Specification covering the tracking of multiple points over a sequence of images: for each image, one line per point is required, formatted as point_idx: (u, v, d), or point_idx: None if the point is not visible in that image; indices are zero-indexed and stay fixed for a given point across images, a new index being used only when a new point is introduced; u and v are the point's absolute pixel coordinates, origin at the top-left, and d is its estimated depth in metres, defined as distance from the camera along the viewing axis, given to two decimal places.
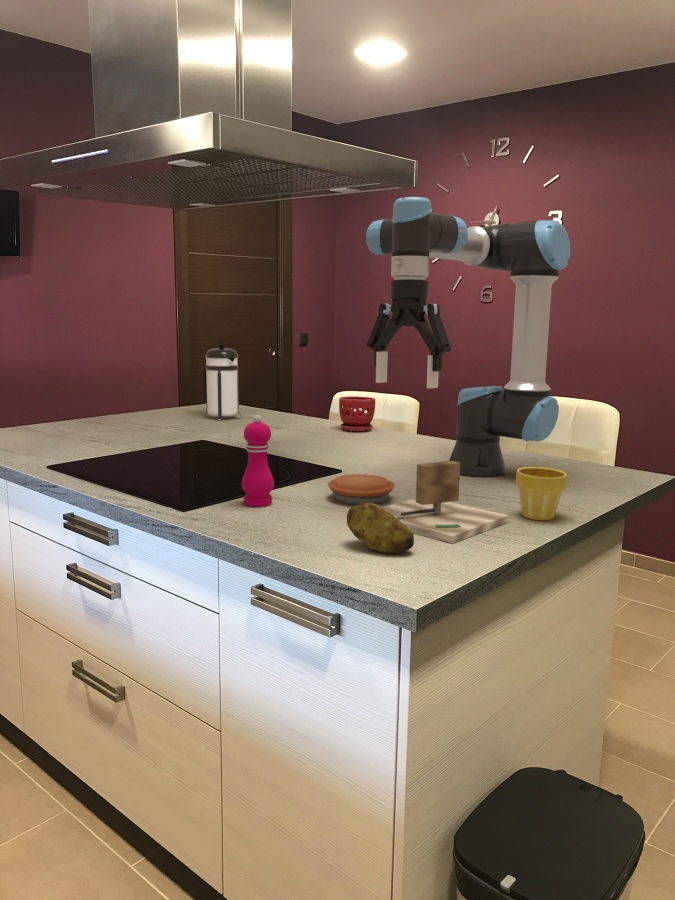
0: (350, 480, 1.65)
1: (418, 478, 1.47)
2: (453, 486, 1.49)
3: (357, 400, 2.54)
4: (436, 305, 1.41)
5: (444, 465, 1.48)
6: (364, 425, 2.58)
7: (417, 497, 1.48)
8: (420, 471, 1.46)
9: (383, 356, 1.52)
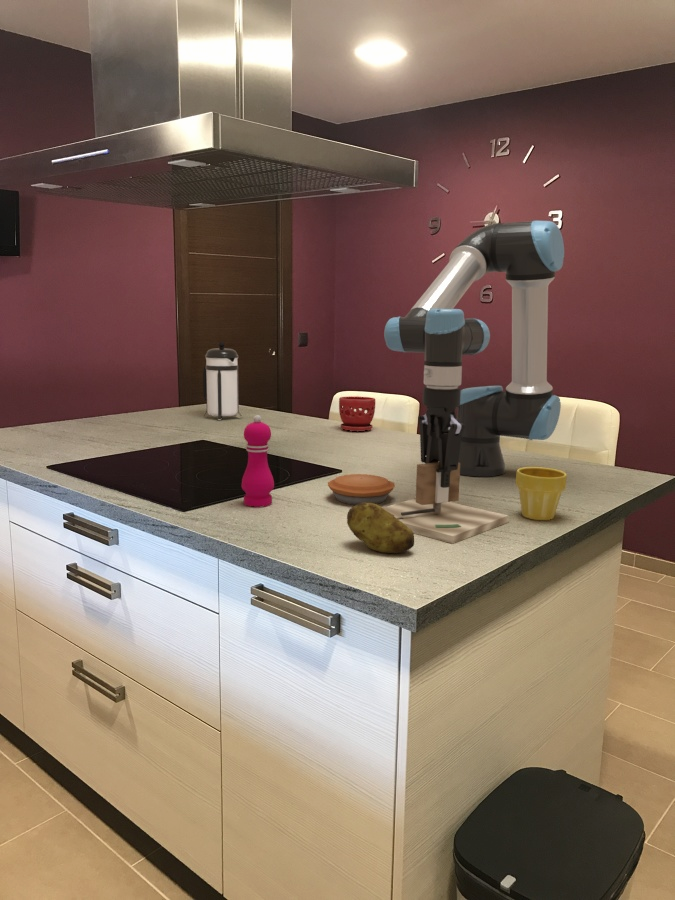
0: (350, 480, 1.65)
1: (418, 478, 1.47)
2: (453, 486, 1.49)
3: (357, 400, 2.54)
4: (460, 427, 1.41)
5: (444, 465, 1.48)
6: (364, 425, 2.58)
7: (417, 497, 1.48)
8: (420, 471, 1.46)
9: None
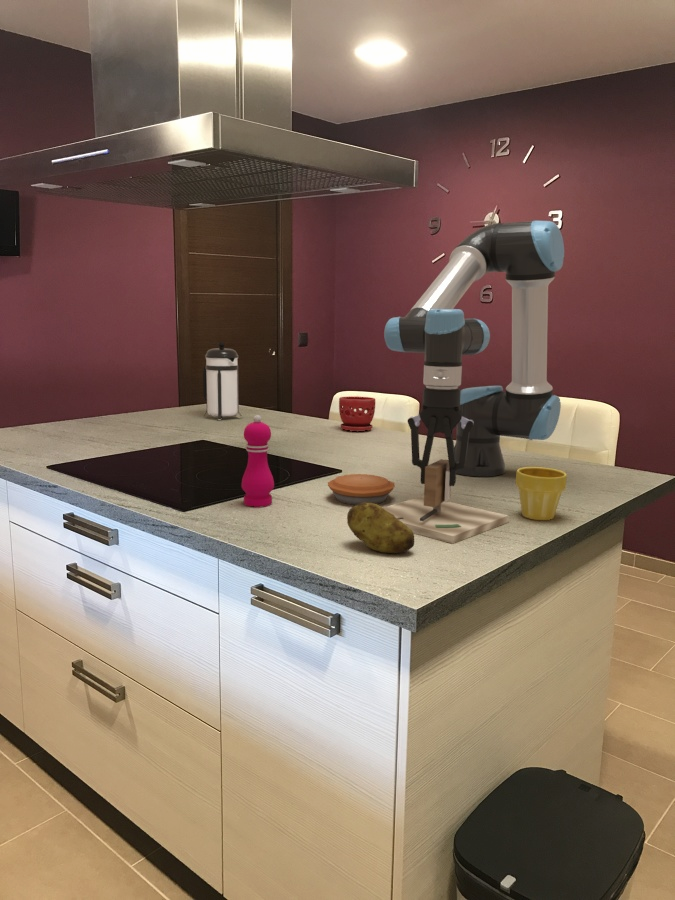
0: (350, 480, 1.65)
1: (428, 481, 1.45)
2: None
3: (357, 400, 2.54)
4: (473, 423, 1.45)
5: (445, 464, 1.48)
6: (364, 425, 2.58)
7: (426, 500, 1.46)
8: (431, 473, 1.45)
9: None
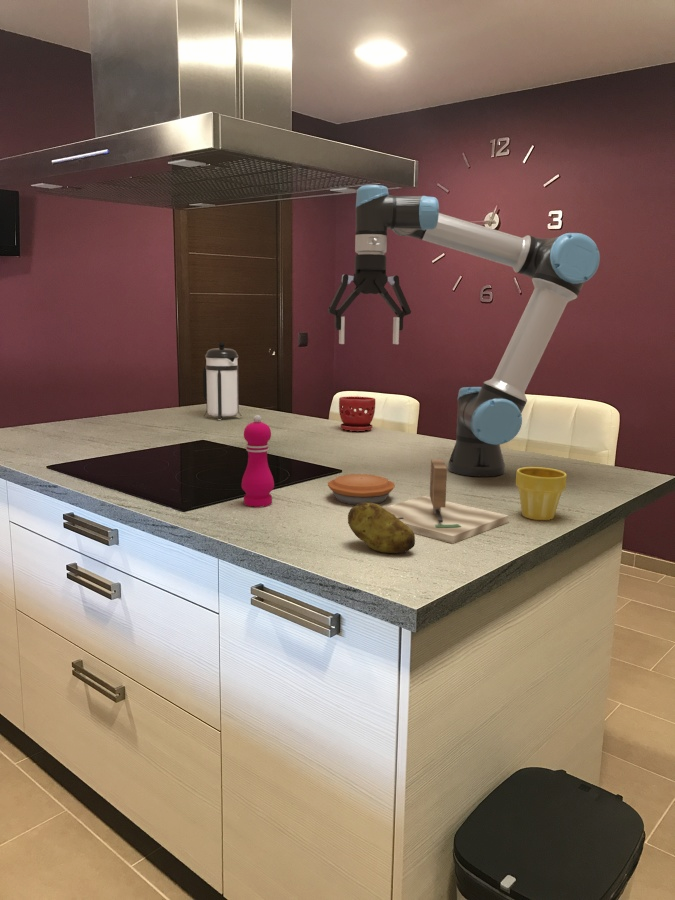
0: (350, 480, 1.65)
1: (438, 482, 1.44)
2: None
3: (357, 400, 2.54)
4: None
5: None
6: (364, 425, 2.58)
7: (436, 501, 1.45)
8: (441, 474, 1.44)
9: None
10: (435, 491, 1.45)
